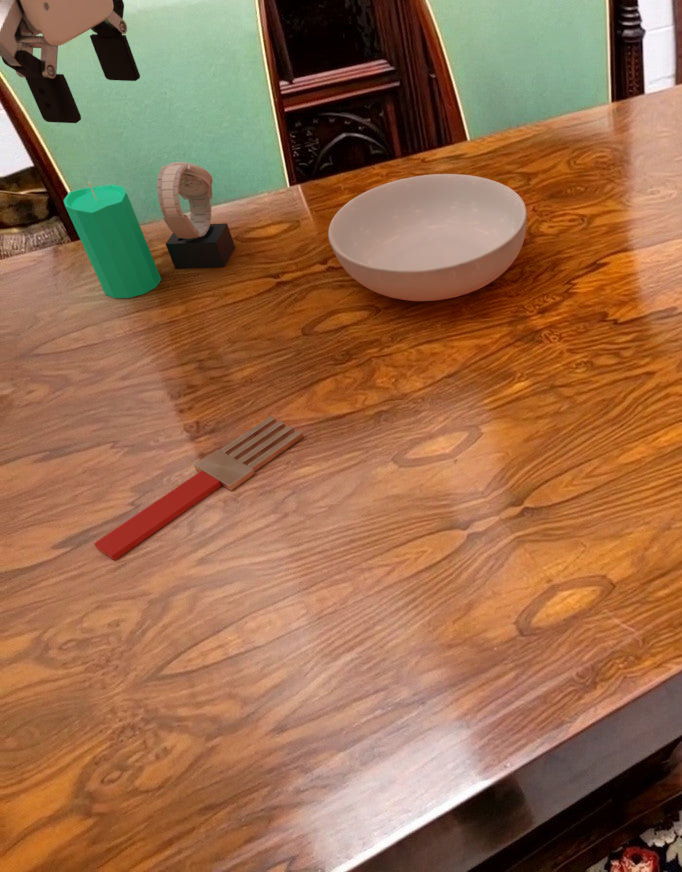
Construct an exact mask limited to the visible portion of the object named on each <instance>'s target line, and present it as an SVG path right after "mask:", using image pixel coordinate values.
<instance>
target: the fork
mask: <svg viewBox="0 0 682 872" xmlns="http://www.w3.org/2000/svg"><path fill="white" fill-rule="evenodd" d="M303 438H304V434H303V432H302V431H300V430H298V429H296V430H294V427H292V426H291V425H286V423H285V422H283V421H281V420H277V419H276V418H275V417H273V416H272V415H269V416H268V417H266V418H265V419H263V420H262V421H260V422H259V423H256V425H254V426H252V427H251V428H250V429H248V430H246V431H245V432H244V433H243V434H241V435H239V436H238V437H237V438H235V439H233V440H231V442H229V443H228V444H226V445H224V446H223V447H222V448H220V449H219V448H216V449H215V450H213V451H212V452H211V453H209V454H207V455H206V456H205V457H203V458H201V459H200V460H198V461H197V462H196V463H194V464H193V467H194V469H195V470H196V471H198V472H197V473H196V474H194V475H193V476H191V477H190V478H189V479H187V480H185V481H184V482H182V483H180V485H178V486H177V487H174V489H172V490H171V491H169V492H168V493H166V494H165V495H164V496H162V497H160V498H159V499H157V500H156V501H154V502H153V503H152V504H150V505H149V506H147V507H145V508H144V509H143V510H141V511H139V512H138V513H136V514H135V515H134V516H132V517H130V518H129V519H128V520H126V521H125V522H123V523H122V524H121V525H119V526H118V527H115V529H113V530H112V531H110V532H108V533H107V534H105V535H104V536H102V537H101V538H100V539H98V540H97V541H95V542H94V543H93V544H94V546H95V548H96V550H99V551H100V552H101V553H103V554H104V555H106V556H107V557H108V558H110V559H111V560H112V561H116V560H118V559H119V558H120V557H122V556H123V555H125V554H127V553H128V552H129V551H131V550H132V549H133V548H135V547H136V546H138V545H139V544H141V543H142V542H143V541H145V540H146V539H148V538H149V537H150V536H152V535H153V534H155V533H156V532H158V531H159V530H160V529H162V528H164V527H166V525H168V524H169V523H171V522H172V521H173V520H175V519H176V518H178V517H179V516H180V515H182V514H183V513H185V512H187V511H188V510H190V509H191V508H192V507H193V506H195V505H197V503H199V502H200V501H201V502H202V500H204V499H205V498H207V497H208V496H209V495H211V494H213V492H215V491H216V490H218V489H219V488H221V487H224V488H225V489H227V490H229V491H231V492H232V491H234V490H235V489H236V488H238V487H239V486H241V485H242V484H243V483H245V482H247V481H248V480H249V479H250V478H252V477H253V476H254V475H256V472H257V471H258V470H260V469H262V468H263V467H264V466H265V465H267V464H268V463H269V462H271V461H272V460H274V459H275V458H277V457H279V455H281V454H282V453H284V452H285V451H287V450H288V449H289V448H291V447H293V446H294V445H295V444H297V443H298V442H300V441H301V440H302V439H303Z"/></svg>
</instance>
